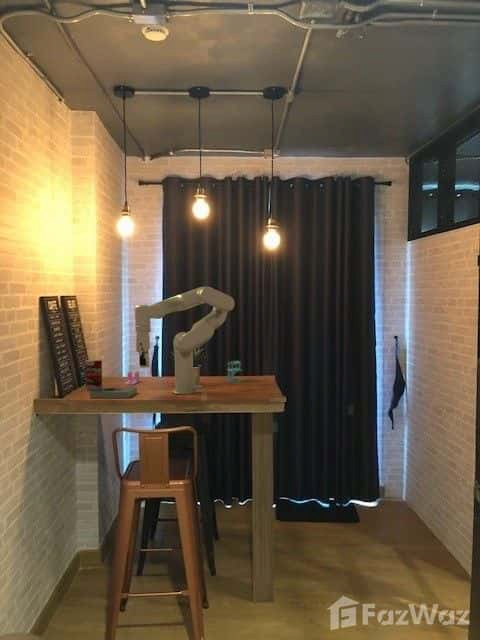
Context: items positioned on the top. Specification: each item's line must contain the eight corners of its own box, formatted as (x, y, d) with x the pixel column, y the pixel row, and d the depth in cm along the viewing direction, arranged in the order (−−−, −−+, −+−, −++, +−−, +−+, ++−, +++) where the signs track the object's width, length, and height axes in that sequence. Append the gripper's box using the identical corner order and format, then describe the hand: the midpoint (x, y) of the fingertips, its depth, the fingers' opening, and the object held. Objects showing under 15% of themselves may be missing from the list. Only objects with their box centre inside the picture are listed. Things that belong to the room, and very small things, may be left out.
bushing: (150, 366, 265) (150, 352, 264) (148, 367, 260) (147, 353, 259) (141, 366, 265) (140, 352, 265) (138, 367, 260) (137, 353, 260)
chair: (225, 380, 304) (224, 360, 303) (238, 379, 307) (237, 359, 307) (230, 382, 297) (230, 362, 296) (243, 381, 300) (243, 361, 300)
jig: (136, 392, 271) (136, 387, 270) (128, 398, 257) (128, 392, 257) (100, 392, 272) (99, 386, 272) (90, 398, 259) (89, 392, 258)
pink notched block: (129, 382, 304) (129, 370, 304) (138, 382, 304) (138, 370, 304) (123, 386, 291) (123, 373, 291) (133, 386, 291) (133, 373, 291)
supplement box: (86, 390, 280) (85, 361, 279) (86, 388, 284) (85, 360, 283) (102, 389, 282) (101, 360, 281) (102, 387, 287) (101, 359, 286)
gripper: (140, 328, 270) (142, 362, 271) (130, 330, 253) (132, 367, 254) (154, 327, 269) (155, 362, 270) (145, 330, 252) (147, 367, 254)
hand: (144, 364), depth 262 cm, fingers closed on bushing, 5 cm apart
